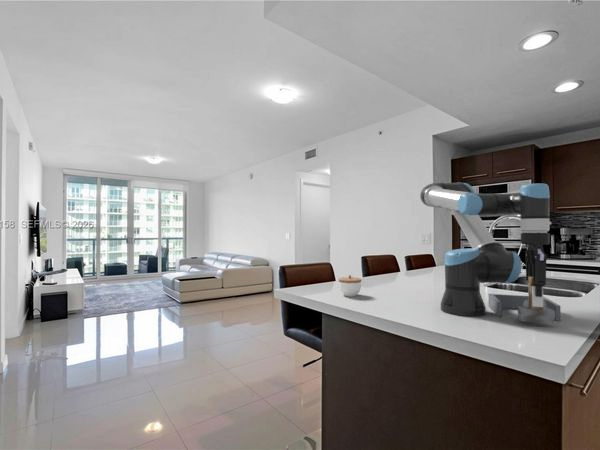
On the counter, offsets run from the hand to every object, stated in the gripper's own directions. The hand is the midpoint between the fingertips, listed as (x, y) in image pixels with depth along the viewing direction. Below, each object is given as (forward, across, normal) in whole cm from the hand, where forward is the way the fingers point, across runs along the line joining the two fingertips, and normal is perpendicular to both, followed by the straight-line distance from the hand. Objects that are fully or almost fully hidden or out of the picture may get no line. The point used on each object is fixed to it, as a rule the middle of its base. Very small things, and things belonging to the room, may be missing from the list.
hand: (535, 305), depth 102 cm
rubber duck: (+7, +5, +1) cm, 8 cm away
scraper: (+5, 0, 0) cm, 5 cm away
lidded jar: (+7, +26, +66) cm, 71 cm away
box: (+7, +16, 0) cm, 17 cm away
